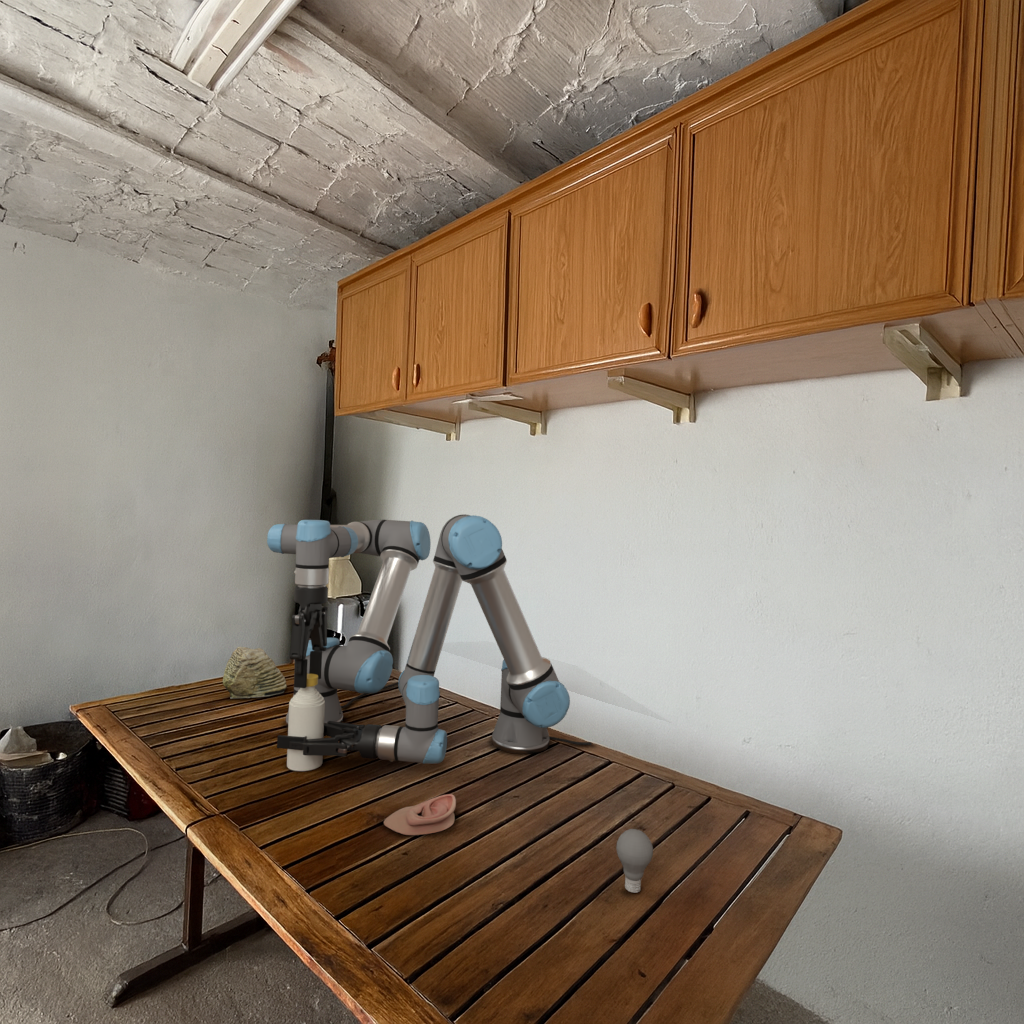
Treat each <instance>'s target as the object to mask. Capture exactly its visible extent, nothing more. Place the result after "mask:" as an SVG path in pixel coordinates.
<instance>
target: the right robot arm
mask: <svg viewBox="0 0 1024 1024" xmlns="http://www.w3.org/2000/svg"><path fill="white" fill-rule="evenodd" d="M502 538H503V537H502V535H501V533H500V531H499V529H498V527H497V526H496V525H495V524H494V523H493V522H492V521H491V520H489V519H488V518H486V517H484V516H480V515H474V514H473V515H470V514H458V515H455V516H452V517H451V518H449V519H448V520H447V521H446V522H445V524H443V526H442V528H441V530H440V532H439V536H438V541H437V545H436V548H435V552H434V555H433V559H432V563H433V565H434V570H433V572H432V573H433V574H432V577H431V580H430V584H429V587H428V590H427V594H426V597H425V600H424V603H423V607H422V610H421V613H420V617H419V620H418V624H417V626H416V629H415V632H414V633H415V634H414V637H413V640H412V644H411V647H410V651H409V652H408V653H409V654H408V656H407V659H406V664H405V666H404V669H403V671H402V672H400V675H399V677H398V681H397V682H398V685H397V686H398V692H399V693H400V694H401V697H402V699H403V702H404V705H405V722H404V725H405V726H400V725H388V724H384V725H383V726H382V725H381V724H371V723H367V724H356V723H355V724H354V723H348V722H335V721H328V722H327V723H324V737H323V738H318V739H307V736H305V737H296V736H288V735H280V734H278V735H277V736H276V737H277V739H276V748H277V749H283V750H284V749H285V750H287V749H295V750H303V755H323V756H325V757H326V756H329V757H331V756H334V757H343V758H346V757H347V756H348V753H349V752H359V755H360V757H361V758H362V759H369V760H376V759H379V760H384V761H389V762H390V763H393V762H394V761H396V762H408V763H419V764H423V765H425V764H427V765H431V764H433V765H435V764H441V763H442V762H443V761H444V759H445V757H446V754H447V749H448V734H447V733H448V732H447V731H446V730H444V729H442V728H439V706H440V696H441V692H440V680H439V679H438V678H437V677H435V673H436V670H437V666H438V662H439V659H440V657H441V654H442V649H443V646H444V643H445V640H446V636H447V634H448V629H449V627H450V623H451V619H452V616H453V612H454V611H455V610H454V609H455V606H456V603H457V600H458V597H459V593H460V590H461V586H462V583H467V584H470V586H471V588H472V590H473V593H474V595H475V597H476V599H477V602H478V603H479V606H480V609H481V612H482V613H483V615H484V617H485V620H486V623H487V624H488V626H489V629H490V632H491V634H492V635H493V638H494V640H495V643H496V645H497V647H498V650H499V652H500V654H501V656H502V658H503V660H502V664H501V669H500V670H501V671H500V672H501V679H500V681H501V682H500V706H499V715H498V717H497V720H496V723H495V726H494V728H493V731H492V734H491V744H492V745H493V746H494V747H495V748H496V749H498V750H500V751H503V752H506V753H509V754H516V755H531V754H532V755H533V754H537V753H542V752H544V751H546V750H547V749H548V748H549V747H550V740H552V741H557V742H562V743H566V744H571V745H577V746H592V744H593V743H592V742H591V741H574V740H569V739H566V738H562V737H557V736H551V735H550V733H549V730H548V728H551V727H554V726H556V725H558V724H559V723H560V722H562V720H563V719H564V718H565V717H566V716H567V713H568V712H569V709H570V705H571V697H570V693H569V691H568V689H567V687H566V686H565V685H564V684H563V682H561V681H560V680H559V678H558V676H557V673H556V671H555V669H554V666H553V665H552V662H551V660H550V659H549V658H546V657H543V656H542V655H541V652H540V650H539V648H538V645H537V643H536V641H535V639H534V636H533V634H532V631H531V629H530V626H529V624H528V622H527V619H526V617H525V615H524V613H523V611H522V608H521V606H520V603H519V601H518V599H517V597H516V594H515V592H514V589H513V587H512V585H511V583H510V580H509V578H508V576H507V574H506V571H505V569H506V568H505V567H506V565H507V562H508V560H507V557H506V555H505V552H504V550H503V540H502Z"/></svg>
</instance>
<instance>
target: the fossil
mask: <svg viewBox="0 0 1024 1024" xmlns="http://www.w3.org/2000/svg"><path fill="white" fill-rule="evenodd" d="M222 676H223V677H222V685H223V687H224V688H225V690H226V691H228V693H229V698H230V699H250V698H264V697H271V696H275V695H281V694H284V693H285V691H286V689H287V687H288V686H287V680H286V678H285V676H284V674H283V673H282V672H281V669H279V668H278V667H277V665H276V663H275V662H274V660H273V659H272V658H271V657H270V656H269V655H268V654H267V653H266V652H265V650H264V649H263V648H260V647H258V648H251V647H247V646H246V647H245V646H238V647H237V648H236V649H235V650H233V651H232V653H231V656H230V657H229V659H228V660H227V663H226V666H225V668H224V671H223V675H222Z"/></svg>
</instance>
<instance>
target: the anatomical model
mask: <svg viewBox="0 0 1024 1024" xmlns="http://www.w3.org/2000/svg"><path fill="white" fill-rule="evenodd" d="M456 806H457V798H456V796H455V795H454V794H452V793H447V794H442V795H438V796H435V797H433V798H430V799H427V800H425V801H423V802H420V803H418V804H416V805H411V806H405V807H402V808H400V809H398V810H396V811H394V812H393V813H391V814H390V815H388V816H387V817H386V818H384V821H383V825H384V826H385V827H386V828H388V829H390V830H392V831H393V832H396V833H398V834H401V835H405V836H420V835H429V834H435V833H439V832H442V831H444V830H447V829H449V828H450V827H453V825H454V823H455V819H456V817H455V813H454V812H455V810H456Z"/></svg>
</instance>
